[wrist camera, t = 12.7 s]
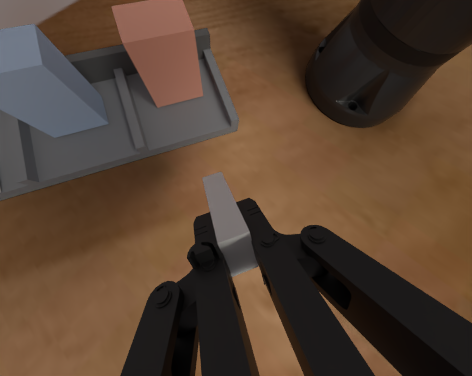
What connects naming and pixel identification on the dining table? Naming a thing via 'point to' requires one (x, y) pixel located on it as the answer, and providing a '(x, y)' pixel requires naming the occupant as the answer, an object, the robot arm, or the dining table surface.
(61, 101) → the blue rectangular block
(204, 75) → the grey divided tray
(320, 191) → the dining table surface
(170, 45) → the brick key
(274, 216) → the dining table surface
